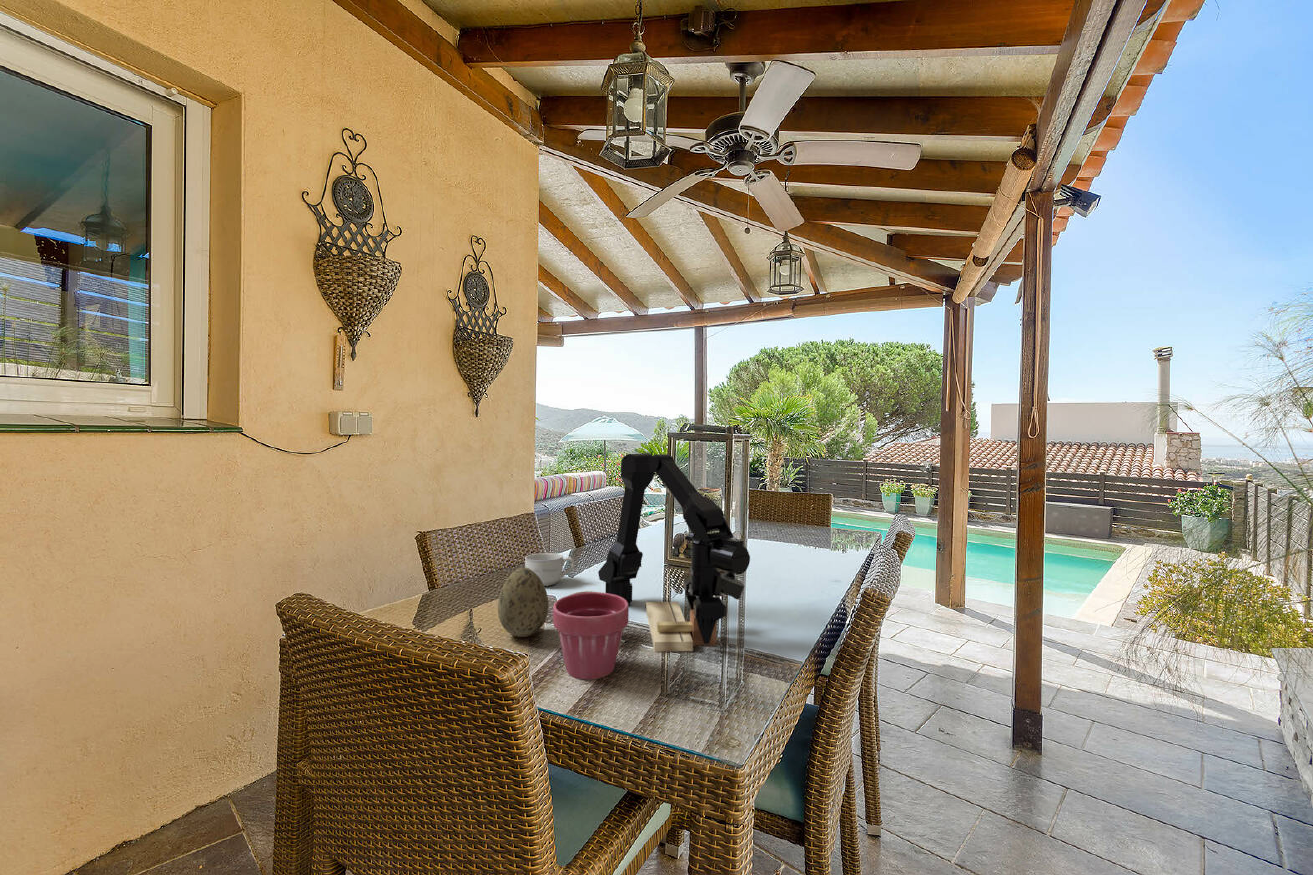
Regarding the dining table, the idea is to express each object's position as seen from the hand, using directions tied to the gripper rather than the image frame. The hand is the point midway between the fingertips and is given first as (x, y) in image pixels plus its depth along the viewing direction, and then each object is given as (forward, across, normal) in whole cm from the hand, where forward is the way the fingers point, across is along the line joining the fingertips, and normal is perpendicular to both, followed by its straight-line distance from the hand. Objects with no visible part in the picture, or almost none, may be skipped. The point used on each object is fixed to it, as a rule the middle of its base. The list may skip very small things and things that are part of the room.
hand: (702, 634), depth 125 cm
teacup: (+2, +42, +37) cm, 56 cm away
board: (+1, +7, +7) cm, 10 cm away
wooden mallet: (+1, 0, +4) cm, 4 cm away
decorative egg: (+1, +4, +39) cm, 39 cm away
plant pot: (+1, -13, +24) cm, 27 cm away
